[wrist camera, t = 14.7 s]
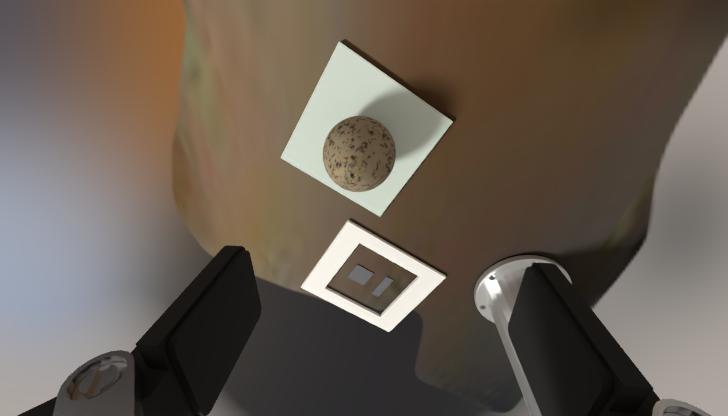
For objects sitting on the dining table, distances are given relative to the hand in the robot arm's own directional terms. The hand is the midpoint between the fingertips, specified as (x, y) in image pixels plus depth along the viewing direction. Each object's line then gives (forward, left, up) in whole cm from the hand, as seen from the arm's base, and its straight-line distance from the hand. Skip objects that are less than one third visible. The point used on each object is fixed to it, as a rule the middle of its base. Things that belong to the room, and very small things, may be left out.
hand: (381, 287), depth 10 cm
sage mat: (+2, +3, -25) cm, 25 cm away
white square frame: (-10, +20, -25) cm, 34 cm away
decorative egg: (+1, +3, -25) cm, 25 cm away
